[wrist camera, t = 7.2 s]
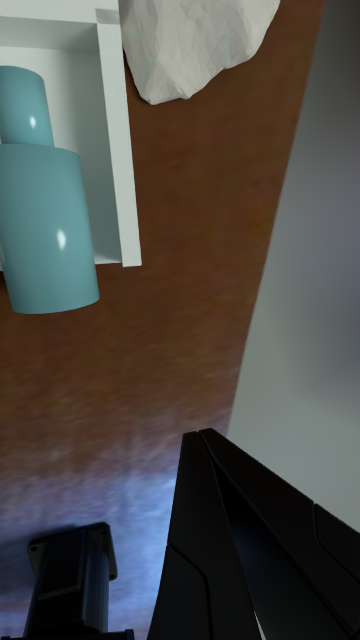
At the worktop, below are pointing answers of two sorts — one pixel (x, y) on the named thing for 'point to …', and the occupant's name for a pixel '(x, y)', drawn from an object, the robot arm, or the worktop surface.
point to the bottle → (40, 205)
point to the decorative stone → (189, 41)
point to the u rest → (83, 105)
